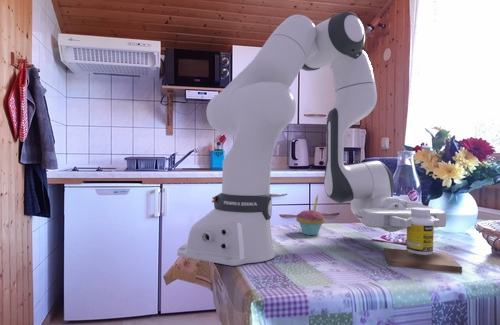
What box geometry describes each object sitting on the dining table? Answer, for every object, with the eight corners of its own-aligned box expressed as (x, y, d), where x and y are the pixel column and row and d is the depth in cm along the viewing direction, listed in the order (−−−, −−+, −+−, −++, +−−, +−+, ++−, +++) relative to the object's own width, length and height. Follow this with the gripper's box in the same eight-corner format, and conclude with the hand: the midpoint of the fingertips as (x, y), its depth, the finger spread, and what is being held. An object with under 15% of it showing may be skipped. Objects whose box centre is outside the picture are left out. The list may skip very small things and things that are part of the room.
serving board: (388, 265, 76) (388, 260, 76) (383, 252, 86) (383, 248, 86) (461, 272, 72) (462, 266, 72) (447, 258, 82) (447, 253, 82)
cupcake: (322, 231, 111) (323, 193, 111) (326, 237, 103) (326, 196, 103) (295, 230, 112) (296, 192, 112) (296, 236, 104) (297, 195, 103)
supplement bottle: (425, 256, 75) (426, 211, 75) (401, 251, 80) (402, 208, 80) (437, 252, 79) (438, 209, 78) (414, 247, 83) (415, 206, 83)
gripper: (351, 201, 90) (379, 209, 77) (424, 201, 93) (463, 209, 80) (351, 226, 90) (378, 238, 77) (424, 225, 93) (463, 237, 80)
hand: (422, 223), depth 78 cm, fingers closed on supplement bottle, 5 cm apart
